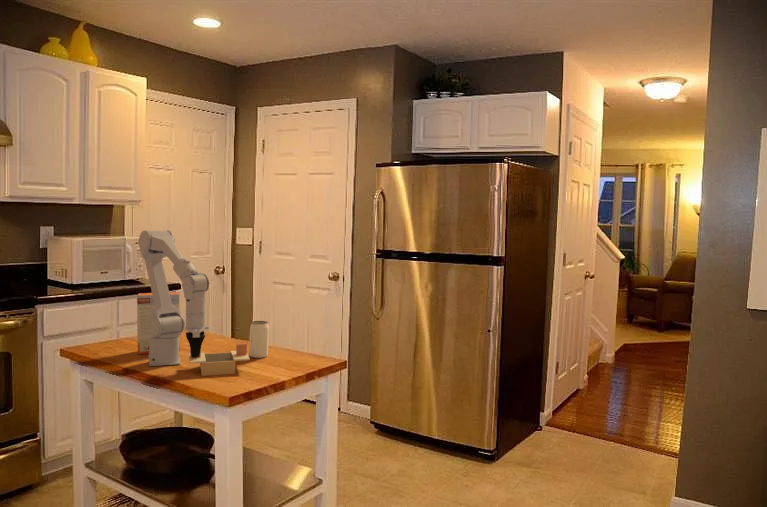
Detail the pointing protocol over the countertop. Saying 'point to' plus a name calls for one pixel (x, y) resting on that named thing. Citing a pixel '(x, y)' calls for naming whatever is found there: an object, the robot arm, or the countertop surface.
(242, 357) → the right flap
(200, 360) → the left flap
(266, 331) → the can
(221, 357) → the carton
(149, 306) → the cracker box
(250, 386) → the countertop surface
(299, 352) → the countertop surface
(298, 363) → the countertop surface
